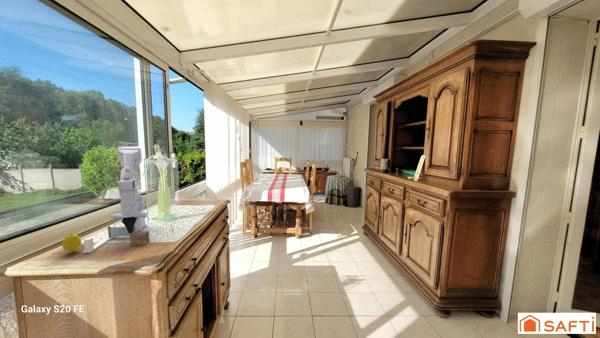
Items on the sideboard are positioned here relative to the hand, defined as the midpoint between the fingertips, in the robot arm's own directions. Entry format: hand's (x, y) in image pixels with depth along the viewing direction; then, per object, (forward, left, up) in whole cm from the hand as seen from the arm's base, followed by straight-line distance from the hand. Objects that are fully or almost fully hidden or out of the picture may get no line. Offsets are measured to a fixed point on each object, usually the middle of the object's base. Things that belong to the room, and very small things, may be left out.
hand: (130, 232), depth 110 cm
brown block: (+6, +7, -3) cm, 10 cm away
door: (-3, -5, -2) cm, 6 cm away
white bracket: (+4, -10, -3) cm, 11 cm away
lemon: (+11, -16, -3) cm, 20 cm away
